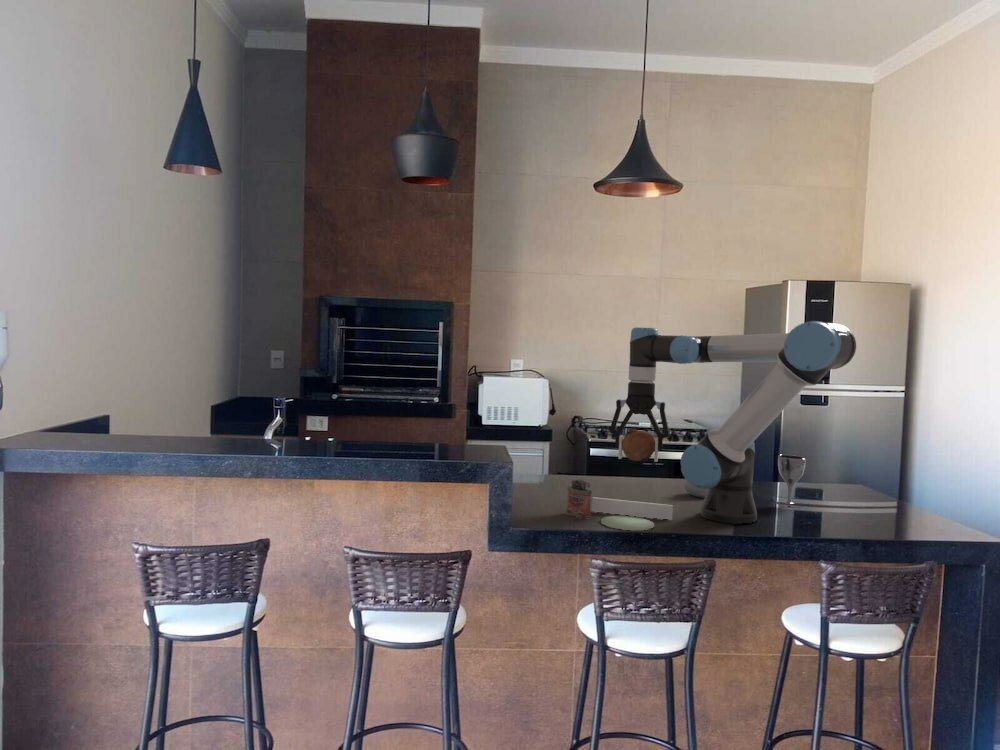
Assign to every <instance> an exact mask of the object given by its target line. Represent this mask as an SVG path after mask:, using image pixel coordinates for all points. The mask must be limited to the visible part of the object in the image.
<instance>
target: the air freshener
mask: <svg viewBox="0 0 1000 750" xmlns="http://www.w3.org/2000/svg"><path fill="white" fill-rule="evenodd" d="M708 489H709V488H708ZM708 489H706V488H704V489H702V488H697V487H695V486H693V485H691V484H690V483H689V482H688V481H687V480H685V482H684V490H685V491H686V492H687V493H688V494H689V495H691V496H693V497H696V498H700V497H701V499H702V498H703V499H705V497H706V494H707V492H708Z"/></svg>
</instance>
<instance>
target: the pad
mask: <svg viewBox="0 0 1000 750" xmlns="http://www.w3.org/2000/svg"><path fill="white" fill-rule="evenodd" d="M600 523H601V525H603V524H604V525H606V526H605V527H607V526H608V527H607V528H609V527H611V528H610V529H613V528H615V529H614V530H618V529H622V530H621V531H626V530H630V531H629V532H644V530H645V531H650V530H652V529H651V528H653V527H654V528H655V523H654V522H653V521H651V520H649V519H648V518H644V517H634V516H625V515H610V516H609V515H608V516H603V517H602V518H601V520H600ZM604 525H603V526H604ZM654 528H653V529H654ZM649 529H650V530H649Z"/></svg>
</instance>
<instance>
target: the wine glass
mask: <svg viewBox="0 0 1000 750" xmlns="http://www.w3.org/2000/svg"><path fill="white" fill-rule="evenodd" d="M806 462H807V458H806V456H802V455H798V454H796V455H795V454H787V453H786V454H783V453H782V454H778V456H777V467H778V472H779V474H780V477H781V478H782V479H783V480H784V482H785V484H786V486H787V500H785V501H782V502H783V503H785V504H795V502H793V501H792V500H791V499H792V491H793V487H794V485H795V484H796V483H797V482H798V481H799V480H800V479H801V478H802V477H803V475H804V473H805V469H806Z"/></svg>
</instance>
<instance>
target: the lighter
mask: <svg viewBox="0 0 1000 750" xmlns="http://www.w3.org/2000/svg"><path fill="white" fill-rule="evenodd" d="M590 487H591V485H590V482H588V481H584V480H583V479H581V478H580V479H571V486H567V489H566V490H567V505H566V506H567V507H566V510H565V511H566V513H567V514H566V515H568V514H570V515H572V516H571V517H573V516H576V517H575V518H577V517H581V518H590V519H591V502H592V500H591V498H592V497H591V496H592V490H589V489H587V488H590ZM570 515H569V516H570ZM581 518H580V519H581Z"/></svg>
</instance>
